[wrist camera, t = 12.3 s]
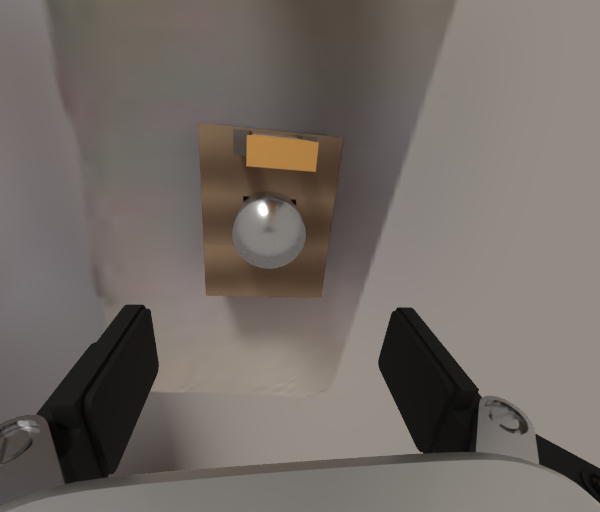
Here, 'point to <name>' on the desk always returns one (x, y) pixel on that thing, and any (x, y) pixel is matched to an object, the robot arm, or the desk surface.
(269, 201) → the silver rounded cylinder
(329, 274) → the desk surface
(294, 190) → the hitch block
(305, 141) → the bar
